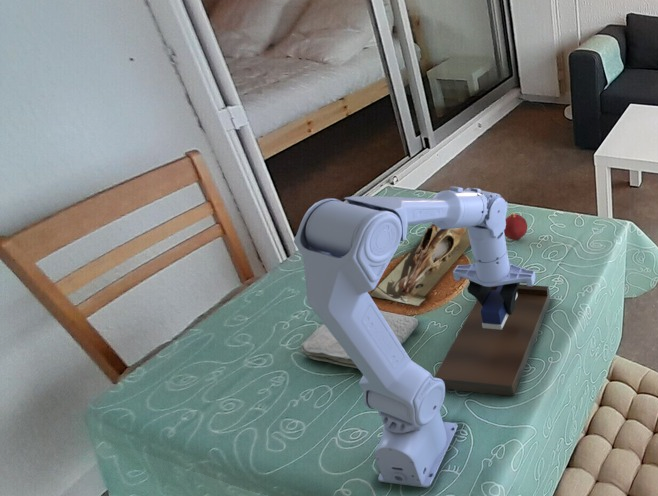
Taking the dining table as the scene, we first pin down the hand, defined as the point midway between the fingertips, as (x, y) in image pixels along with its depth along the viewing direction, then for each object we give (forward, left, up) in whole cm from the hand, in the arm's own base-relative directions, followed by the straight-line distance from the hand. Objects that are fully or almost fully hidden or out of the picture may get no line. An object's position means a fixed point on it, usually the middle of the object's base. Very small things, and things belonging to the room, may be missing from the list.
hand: (500, 309), depth 93 cm
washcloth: (-4, +27, -7) cm, 28 cm away
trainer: (0, 0, 0) cm, 0 cm away
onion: (+29, +8, -7) cm, 31 cm away
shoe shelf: (-1, +1, -7) cm, 7 cm away
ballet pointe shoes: (+20, +25, -7) cm, 33 cm away
